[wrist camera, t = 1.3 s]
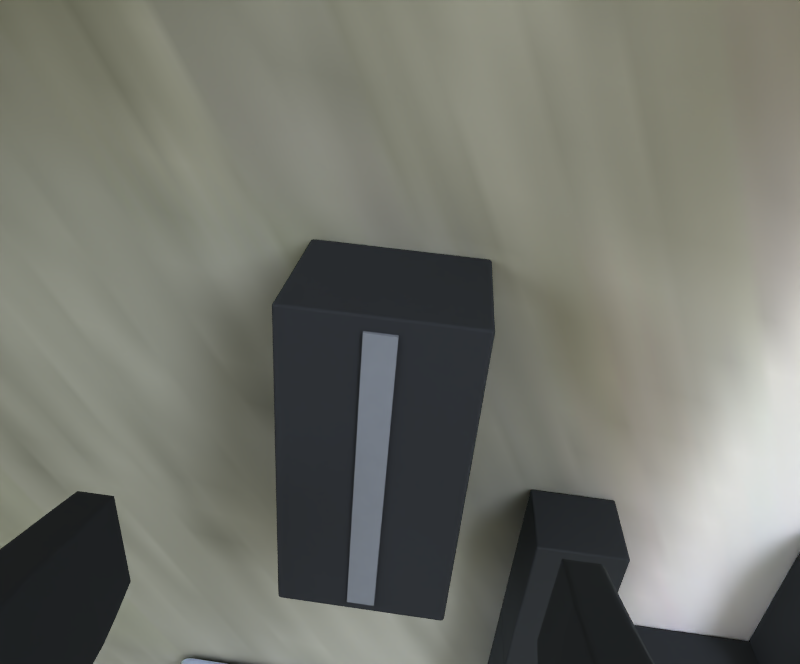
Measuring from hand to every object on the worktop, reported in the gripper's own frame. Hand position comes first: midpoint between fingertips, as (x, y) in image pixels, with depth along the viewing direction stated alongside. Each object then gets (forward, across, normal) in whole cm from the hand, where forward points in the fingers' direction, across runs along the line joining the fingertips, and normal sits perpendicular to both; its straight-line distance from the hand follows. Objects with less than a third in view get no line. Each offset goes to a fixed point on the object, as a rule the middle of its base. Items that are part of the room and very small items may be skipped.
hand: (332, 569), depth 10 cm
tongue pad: (+9, 0, +3) cm, 10 cm away
